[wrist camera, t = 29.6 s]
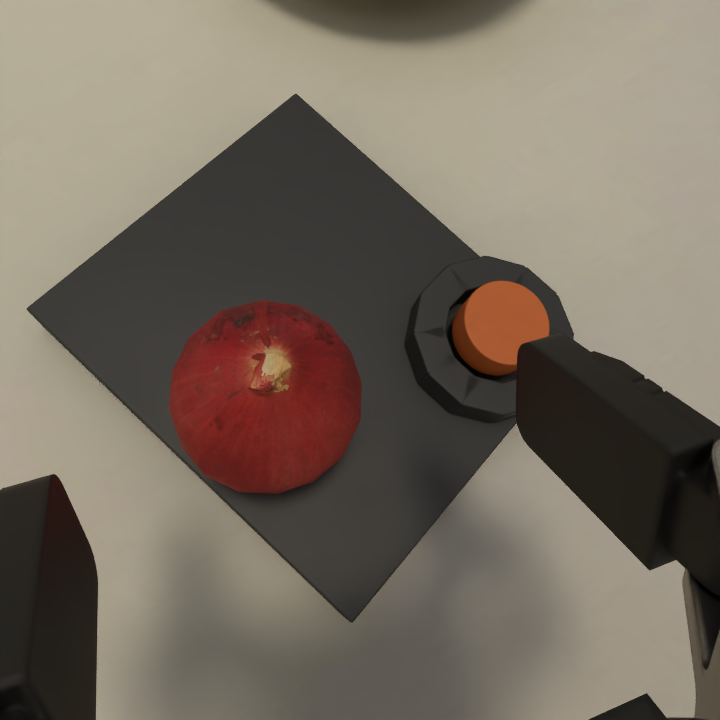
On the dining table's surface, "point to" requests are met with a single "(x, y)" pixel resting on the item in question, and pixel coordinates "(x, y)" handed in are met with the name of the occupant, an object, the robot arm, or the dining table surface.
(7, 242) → the dining table surface
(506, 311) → the button
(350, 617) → the scale
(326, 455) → the pomegranate
